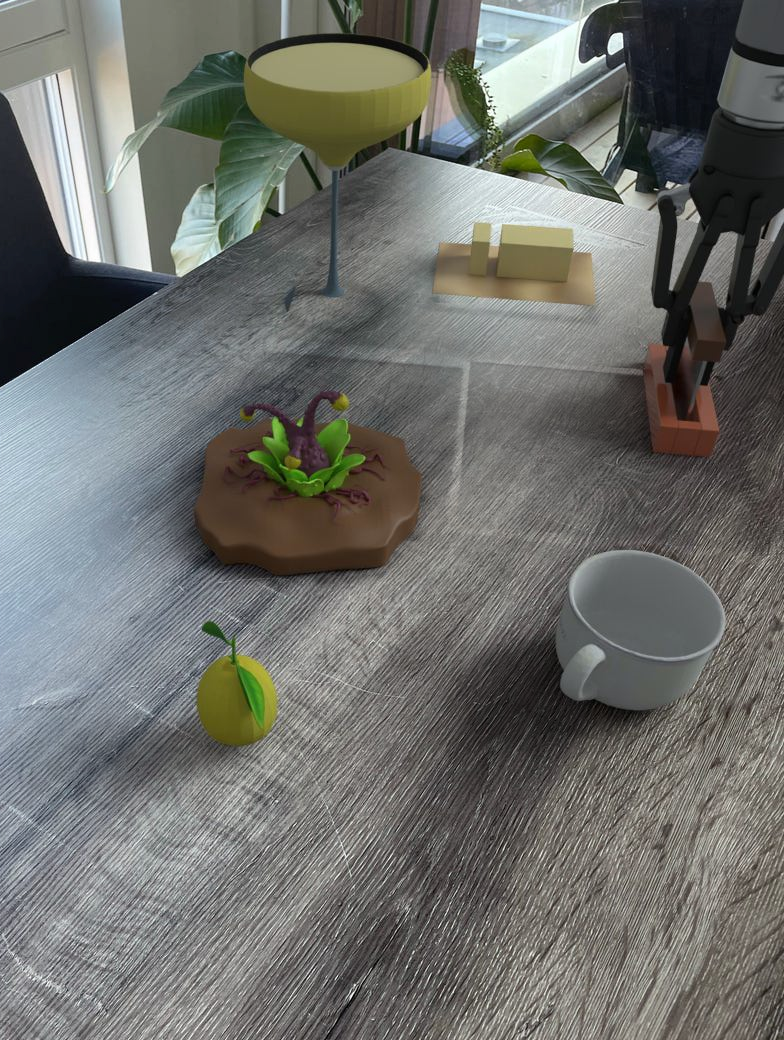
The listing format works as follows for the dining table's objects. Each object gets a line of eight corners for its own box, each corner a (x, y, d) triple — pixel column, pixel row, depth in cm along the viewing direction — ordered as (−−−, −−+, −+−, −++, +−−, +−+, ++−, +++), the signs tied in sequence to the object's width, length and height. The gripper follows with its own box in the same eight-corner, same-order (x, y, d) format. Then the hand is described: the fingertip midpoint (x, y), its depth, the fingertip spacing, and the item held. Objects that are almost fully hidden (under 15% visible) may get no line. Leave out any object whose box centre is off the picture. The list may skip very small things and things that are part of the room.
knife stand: (692, 378, 106) (701, 347, 103) (708, 463, 96) (719, 431, 93) (640, 374, 106) (648, 342, 104) (651, 458, 96) (660, 425, 94)
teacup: (618, 606, 82) (642, 529, 77) (727, 691, 76) (762, 613, 70) (486, 680, 77) (501, 602, 71) (592, 777, 71) (617, 700, 65)
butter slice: (487, 256, 122) (491, 223, 119) (485, 276, 118) (490, 242, 115) (470, 255, 122) (474, 221, 119) (468, 274, 118) (472, 240, 116)
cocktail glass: (341, 253, 126) (348, 21, 108) (446, 310, 116) (472, 65, 98) (220, 298, 118) (206, 55, 100) (321, 363, 108) (325, 107, 90)
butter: (566, 262, 121) (572, 228, 118) (567, 282, 117) (573, 248, 114) (497, 257, 122) (502, 223, 119) (496, 276, 118) (501, 242, 115)
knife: (682, 380, 104) (711, 282, 97) (693, 443, 97) (726, 341, 89) (657, 378, 104) (685, 280, 97) (666, 441, 97) (697, 339, 89)
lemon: (208, 695, 76) (198, 595, 69) (286, 705, 75) (285, 606, 68) (185, 767, 71) (172, 668, 64) (268, 779, 70) (265, 680, 63)
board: (589, 264, 124) (591, 252, 122) (593, 318, 115) (595, 305, 114) (438, 253, 125) (439, 241, 124) (430, 305, 117) (432, 292, 115)
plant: (422, 583, 84) (434, 471, 76) (183, 573, 85) (171, 461, 77) (418, 441, 98) (429, 333, 90) (214, 433, 99) (206, 326, 91)
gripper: (667, 124, 79) (603, 390, 96) (878, 136, 78) (775, 405, 94) (659, 90, 84) (600, 349, 101) (857, 101, 83) (763, 362, 100)
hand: (684, 376), depth 98 cm, fingers closed on knife, 2 cm apart
